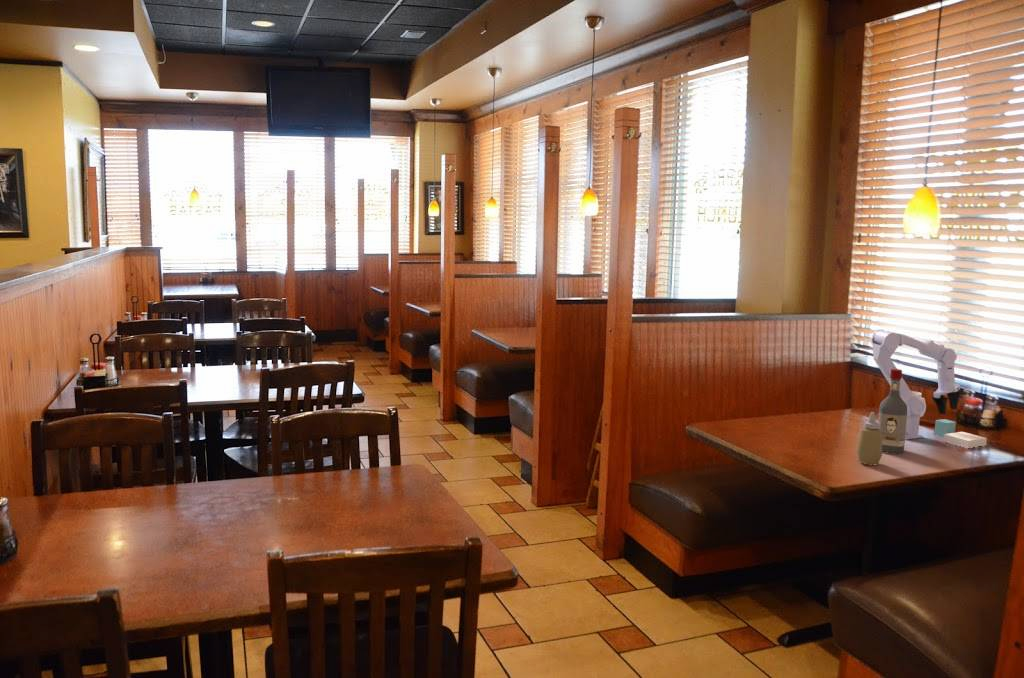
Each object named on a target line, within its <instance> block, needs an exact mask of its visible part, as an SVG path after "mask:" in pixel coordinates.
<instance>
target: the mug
mask: <svg viewBox="0 0 1024 678" xmlns="http://www.w3.org/2000/svg"><path fill="white" fill-rule="evenodd" d="M911 391H912V392H913V393H914V394H915V395H916V396H917V397H918V399H920V400H922V401H923V402H924V404H925V409H924V411H923V413H921V416H920V418H921V417H924V415H925V413H926V410H927V404H926V399H925V397H922V392H919V391H915V390H914V391H913V390H911Z"/></svg>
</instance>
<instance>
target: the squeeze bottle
mask: <svg viewBox="0 0 1024 678" xmlns="http://www.w3.org/2000/svg"><path fill="white" fill-rule="evenodd" d="M860 429H861V430H860V434H859V438H858V445H857V450H856V453H857V457H858V461H859V463H860V462H862V463H866V464H872V465H871V466H875V465H874V464H878V465H879V463H880V461H881V458H882V456H883V452H882V431H881V430H880V429H879V423H878V421H877V419H876V413H875V412H874V411H873V412H870V414H869V416H868V421H864V425H863V427H862V428H860ZM862 463H861V464H862ZM866 464H865V465H866Z"/></svg>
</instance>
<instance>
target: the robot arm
mask: <svg viewBox="0 0 1024 678" xmlns="http://www.w3.org/2000/svg"><path fill="white" fill-rule="evenodd" d="M870 343H871V346H872V350H873V351H872V354H873V360H874V362H875V364H876V365H877V366H878V368H879V370H880V371H881V374H882V375H883V376H884V378H885V379H886V381H887V383H888V384H889V386H891V378H890V374H891V369H898V367H896V365H895V363H894V362H893V360H892V358H891V357H892V356H893V355H894V353H895V352H896V351H897V349H898V348H899V347H902V346H904V345H905V346H907V347H911V348H913V349H916V350H918V353H919V354H920V355H923V356H926V357H928V358H931V359H932V360H933V359H934V360H935V361H936V366H937V367H936V369H937V384H938V385H937V386H938V388H937V389H936V391H934V392H933V395H931V399H932V401H933V402H934V404H935V406H936V407H937V411H938V414H941V415H946V413H947V404H948V403H949V407H950V410H957V409H958V406H959V401H960V398H961V396H962V394H963V391H962V390H961V384H959V383H956V379H955V363H956V360H957V358H958V354H956V351H955V350H954V349H952V348H948V347H946V346H945V344H938V343H935V341H934V340H931V339H929V340H927V339H926V340H923V341H921V340H918V339H915V338H913V337H911V336H908V335H906V334H902V333H898V332H894V331H889V330H884V329H877V330H876V331H874V333H873V334H872V337H871V340H870ZM912 391H913V390H911V389H910V387H909V385H908V384H907V382H906V381H905V379H904V378H903V377H902V378H901V379H900V390H899V393H900V397H901V398H902V399H903V401H904V402H905V403H906V405H907V420H906V432H905V440H911V439H920V438H924V435H921V434H919V430H920V418H921V417H920V416H921V413H923V411H924V409H925V404H924V402H923V401H922V400H920V399H918V397H917V396H916V395H915V394H914V393H913V392H912ZM945 395H947V397H946V396H945Z"/></svg>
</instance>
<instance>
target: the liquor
mask: <svg viewBox="0 0 1024 678" xmlns="http://www.w3.org/2000/svg"><path fill="white" fill-rule="evenodd" d="M902 373H903V370H902V369H899V368H897V369H891V374H890V378H891V386H890V385H889V386H890V387H889V392H888V393H889V394H888V395H887V396H886V397H885V398H884V399H883V400H882V401H881V402H880V405H879V408H878V419H877V423H879V429H880V430H881V431H882V453H883V452H888V453H887V454H891V453H895V454H894V455H902V454H903V453H904V451H905V442H906V439H905V432H906V420H907V405H906V403H905V402H904V401H903V399H902V398H901V397H900V393H899V390H900V379H901V378H903V374H902ZM901 453H902V454H901Z"/></svg>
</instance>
